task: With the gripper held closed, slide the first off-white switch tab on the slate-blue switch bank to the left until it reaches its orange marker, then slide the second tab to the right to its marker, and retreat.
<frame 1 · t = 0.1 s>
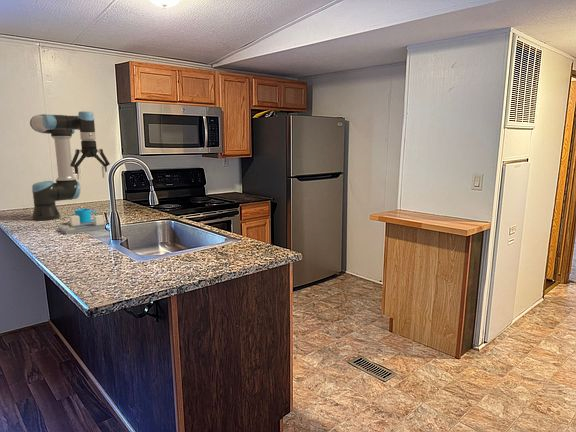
hand: (91, 178, 228), 28 cm above the worktop, fingers open, 13 cm apart
tab a: (74, 220, 228), point 5 cm above the worktop, slide at -5.0 cm
tab b: (98, 220, 229), point 5 cm above the worktop, slide at 5.0 cm
mug: (87, 223, 246), on the worktop
switch bank: (87, 228, 229), on the worktop
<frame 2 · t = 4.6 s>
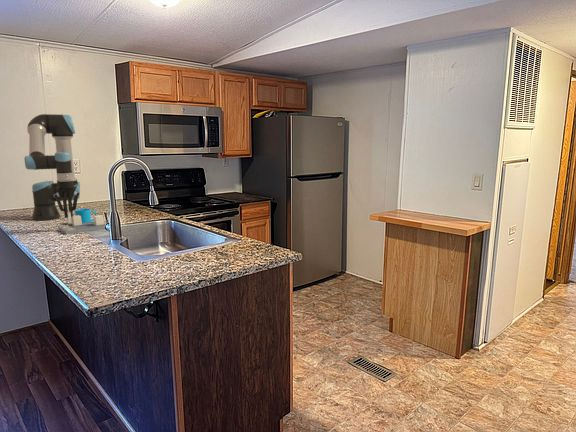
hand: (69, 223, 226), 4 cm above the worktop, fingers closed
tab a: (76, 220, 228), point 5 cm above the worktop, slide at -4.1 cm, touching gripper
everything else where it was.
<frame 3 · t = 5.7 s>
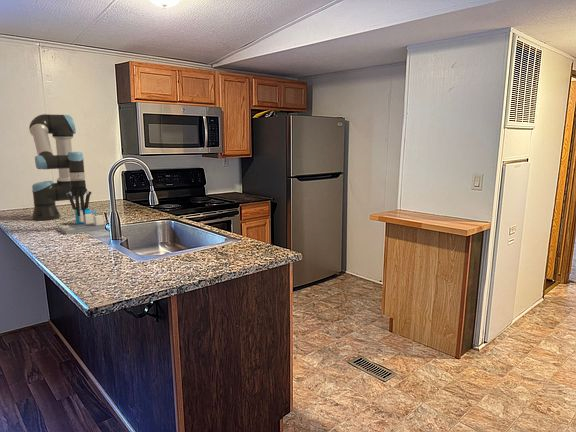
hand: (81, 221, 230), 4 cm above the worktop, fingers closed
tab a: (88, 219, 232), point 5 cm above the worktop, slide at 2.2 cm, touching gripper
everything else where it was.
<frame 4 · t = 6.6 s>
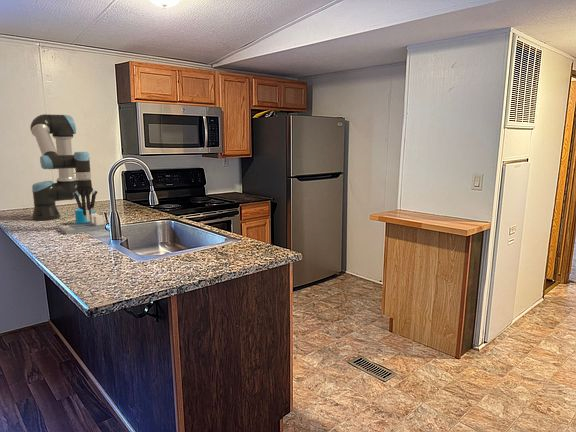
hand: (87, 220, 232), 4 cm above the worktop, fingers closed
tab a: (94, 218, 235), point 5 cm above the worktop, slide at 5.4 cm, touching gripper
everything else where it was.
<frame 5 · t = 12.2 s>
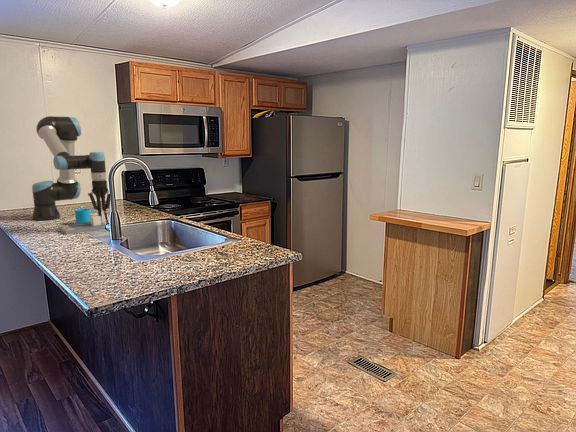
hand: (102, 221, 231), 4 cm above the worktop, fingers closed
tab a: (94, 218, 235), point 5 cm above the worktop, slide at 5.7 cm
tab b: (95, 220, 228), point 5 cm above the worktop, slide at 3.5 cm, touching gripper
everything else where it was.
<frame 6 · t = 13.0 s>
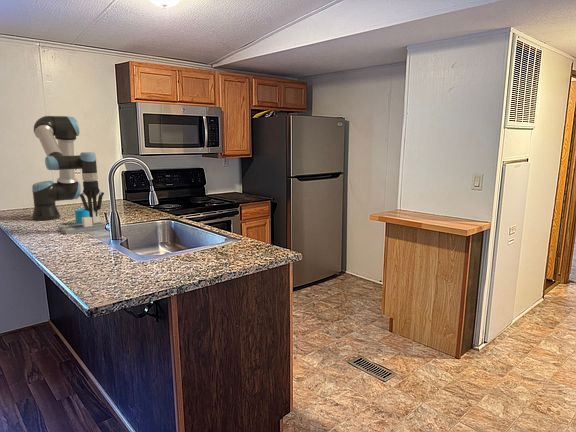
hand: (94, 222, 227), 4 cm above the worktop, fingers closed
tab b: (87, 221, 225), point 5 cm above the worktop, slide at -1.2 cm, touching gripper
everything else where it was.
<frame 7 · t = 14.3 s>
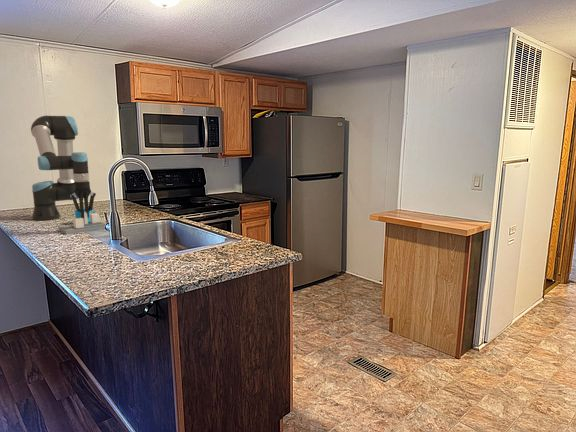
hand: (85, 223, 224), 4 cm above the worktop, fingers closed
tab b: (78, 223, 221), point 5 cm above the worktop, slide at -5.6 cm, touching gripper
everything else where it was.
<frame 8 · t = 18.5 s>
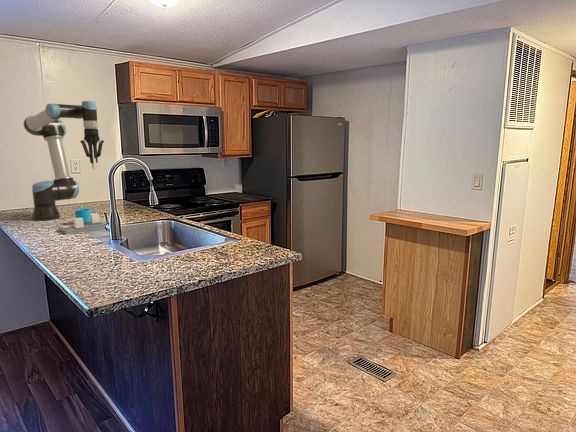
hand: (94, 168, 242), 32 cm above the worktop, fingers closed
tab b: (78, 223, 221), point 5 cm above the worktop, slide at -5.7 cm
everything else where it was.
at the end: tab a slide at 5.7 cm; tab b slide at -5.7 cm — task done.
